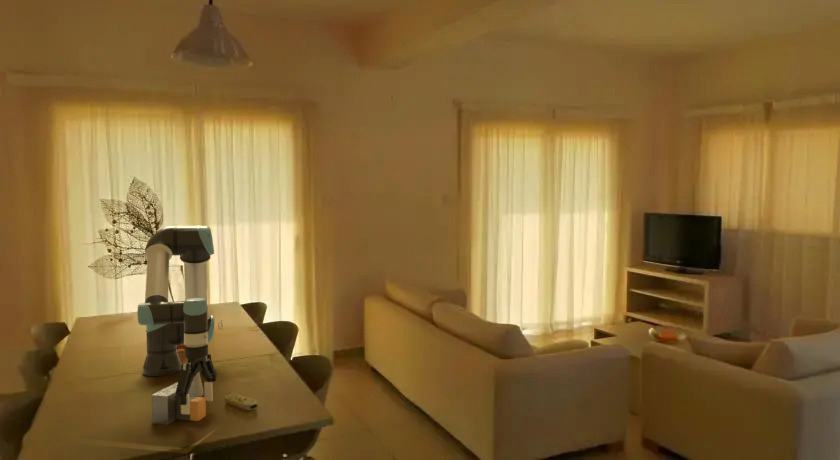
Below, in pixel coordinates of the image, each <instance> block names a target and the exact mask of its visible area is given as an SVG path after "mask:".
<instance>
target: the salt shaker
mask: <svg viewBox="0 0 840 460" xmlns="http://www.w3.org/2000/svg"><path fill="white" fill-rule="evenodd" d="M192 382H193V383H194V393H195V397H204V394H205V390H204V388H203V383H202V377H201V372H198V373H197V374H196V376H194V378H193V381H192Z"/></svg>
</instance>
